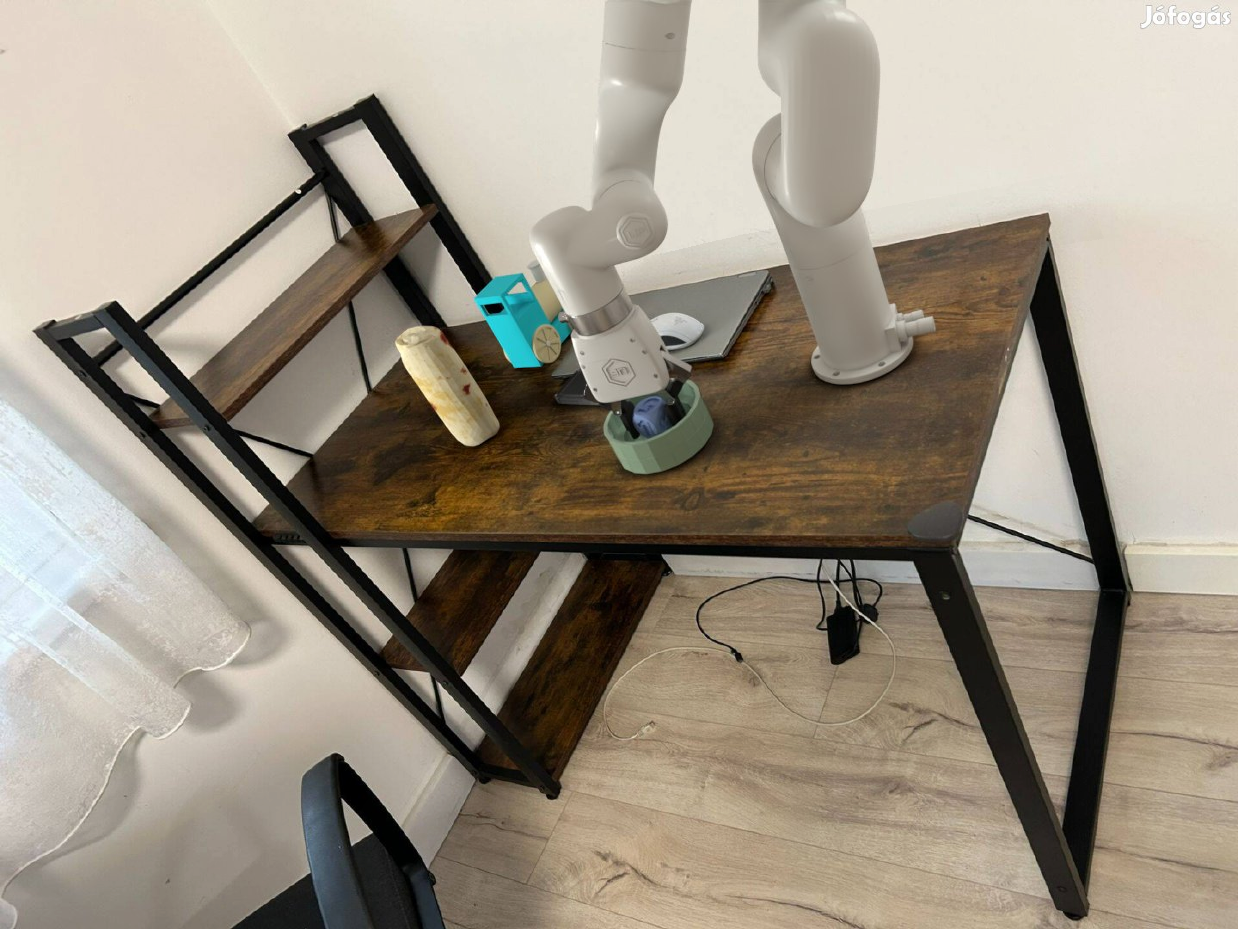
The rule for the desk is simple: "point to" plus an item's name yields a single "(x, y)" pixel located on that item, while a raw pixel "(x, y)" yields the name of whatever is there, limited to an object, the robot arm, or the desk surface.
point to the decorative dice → (651, 417)
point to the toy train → (525, 318)
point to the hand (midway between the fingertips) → (658, 427)
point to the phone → (574, 390)
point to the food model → (447, 384)
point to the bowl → (662, 436)
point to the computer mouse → (677, 330)
